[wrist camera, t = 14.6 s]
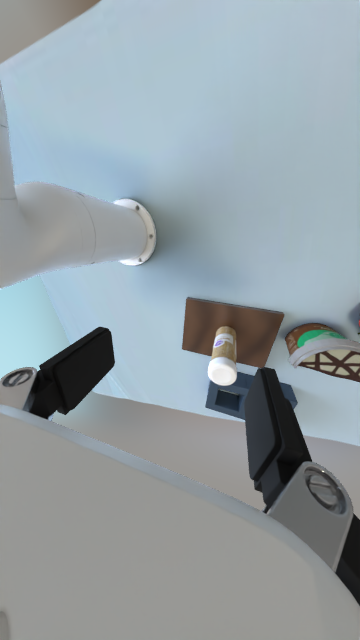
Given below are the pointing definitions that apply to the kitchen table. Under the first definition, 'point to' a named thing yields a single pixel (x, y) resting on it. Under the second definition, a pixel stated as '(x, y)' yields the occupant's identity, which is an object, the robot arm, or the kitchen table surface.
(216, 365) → the sprinkles bottle
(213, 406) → the dark grey cinder block
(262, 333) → the board
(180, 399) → the kitchen table surface
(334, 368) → the food container
